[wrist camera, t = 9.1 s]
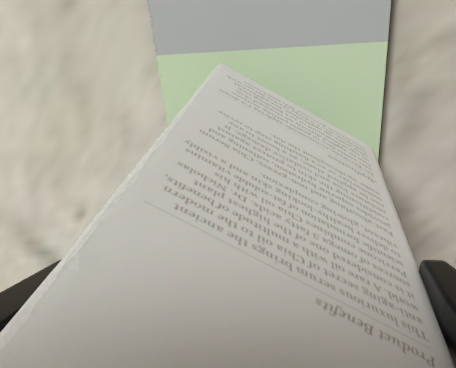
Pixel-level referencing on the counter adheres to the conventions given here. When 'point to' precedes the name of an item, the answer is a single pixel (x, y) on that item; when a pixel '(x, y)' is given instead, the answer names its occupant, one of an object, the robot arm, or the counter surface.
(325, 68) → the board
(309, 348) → the skincare box
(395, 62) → the counter surface
